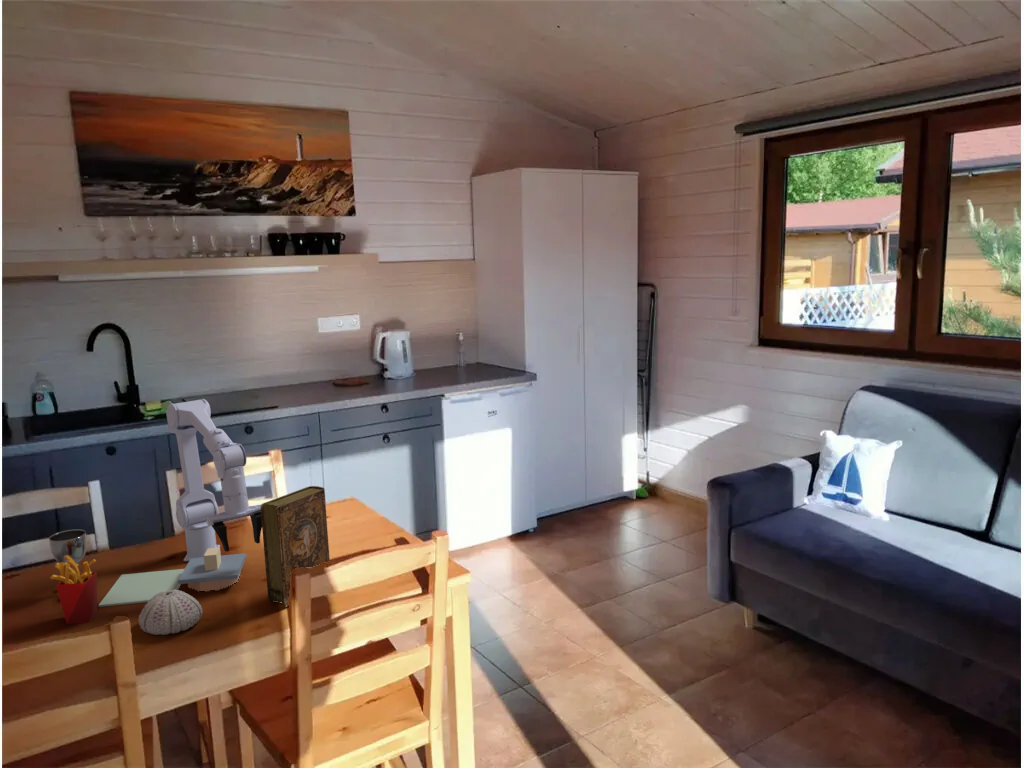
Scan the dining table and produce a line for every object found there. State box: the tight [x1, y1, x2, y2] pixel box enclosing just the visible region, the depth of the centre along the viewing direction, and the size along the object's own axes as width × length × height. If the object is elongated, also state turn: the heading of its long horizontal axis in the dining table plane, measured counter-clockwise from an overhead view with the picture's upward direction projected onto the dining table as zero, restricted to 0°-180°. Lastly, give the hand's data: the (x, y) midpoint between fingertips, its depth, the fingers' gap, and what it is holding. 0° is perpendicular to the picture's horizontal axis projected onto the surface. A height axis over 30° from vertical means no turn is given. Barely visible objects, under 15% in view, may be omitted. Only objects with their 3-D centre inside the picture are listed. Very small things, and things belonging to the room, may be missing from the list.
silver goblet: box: [48, 528, 87, 569], centre depth 195 cm, size 8×8×15 cm
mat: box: [97, 568, 185, 608], centre depth 197 cm, size 18×17×1 cm
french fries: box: [49, 555, 98, 625], centre depth 179 cm, size 9×8×15 cm
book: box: [260, 485, 331, 608], centre depth 189 cm, size 16×6×25 cm, turn 148°
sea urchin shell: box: [137, 589, 204, 636], centre depth 176 cm, size 13×14×8 cm
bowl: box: [187, 572, 241, 592], centre depth 200 cm, size 12×12×3 cm
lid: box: [178, 546, 247, 585], centre depth 199 cm, size 14×14×5 cm
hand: (242, 546), depth 195 cm, fingers open, 7 cm apart
